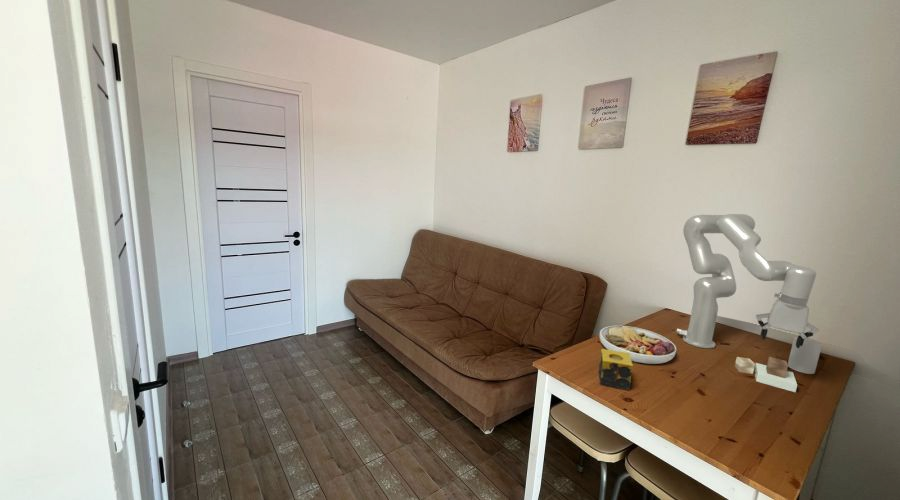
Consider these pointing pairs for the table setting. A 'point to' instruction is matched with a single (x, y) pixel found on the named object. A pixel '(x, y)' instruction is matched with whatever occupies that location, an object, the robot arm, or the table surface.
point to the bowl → (638, 344)
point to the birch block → (744, 365)
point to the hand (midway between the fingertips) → (780, 342)
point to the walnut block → (776, 367)
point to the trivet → (775, 378)
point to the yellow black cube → (615, 369)
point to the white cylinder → (804, 356)
